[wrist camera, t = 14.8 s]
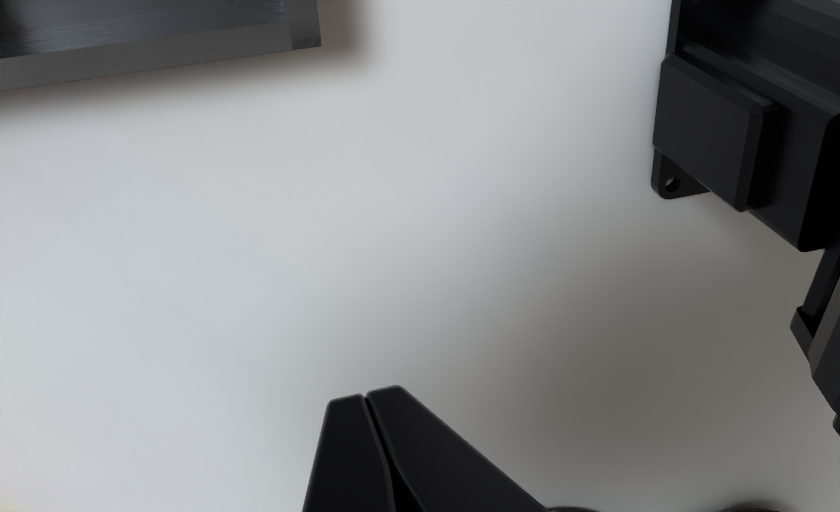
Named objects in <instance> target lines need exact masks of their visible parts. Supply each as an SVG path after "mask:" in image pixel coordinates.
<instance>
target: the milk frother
mask: <svg viewBox="0 0 840 512" xmlns="http://www.w3.org/2000/svg"><path fill="white" fill-rule="evenodd" d="M549 512H586V511H580V510H574V509H559V510H551V511H549ZM734 512H778V511H773V510H768V509H760V508H753V509H744V510H738V511H734Z"/></svg>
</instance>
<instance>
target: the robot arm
mask: <svg viewBox="0 0 840 512" xmlns="http://www.w3.org/2000/svg"><path fill="white" fill-rule="evenodd" d="M653 145H654V146H655V150H654V159H653V168H652V176H651V187H652V189H653V190H654V191H655V192H656V193H657V194H658V195H659V196H660V197H662V198H664V199H675V198H680V197H686V196H691V195H696V194H701V193H706V192H713V193H714V194H715V195H717V196H718V197H719V198H720V199H722V200H723V201H724V202H725V203H727V204H728V205H729V206H731V207H732V208H733V209H734V210H736V211H737V212H740V213H741V212H746V211H748V212H750V213H751V214H752V215H753V216H755V217H756V218H757V219H759V220H760V221H761V222H763V223H764V224H765V225H766V226H768V227H769V228H770V229H772V230H773V231H774V232H776V233H777V234H778V235H779V236H781V237H782V238H783V239H785V240H786V241H787V242H789V243H790V244H791V245H793V246H794V247H795V248H796V249H798V250H799V251H800V252H809V251H813V250H818V249H822V250H824V253H823V256H822V258H821V261H820V263H819V266H818V268H817V271H816V273H815V276H814V278H813V281H812V283H811V286H810V288H809V291H808V293H807V296H806V298H805V301H804V303H803V306H800V307H798V308H797V309H796V312H795V314H794V317H793V319H792V322H791V324H790V329H791V331H792V332H793V334H794V336H795V338H796V340H797V341H798V343H799V345H800V347H801V349H802V351H803V352H804V354H805V356H806V358H807V360H808V361H809V363H810V368H811V374H812V379H813V380H814V382H815V383H816V385H817V386H818V388H819V389H820V391H821V392H822V394H823V396H824V397H825V399H826V400H827V402H828V403H829V405H830V406H831V408H832V409H833V410H834V411H835V413H836V416H835V418H834V420H833V428H834V429H835V430H836V432H837V433H838V435H839V436H840V0H672V6H671V14H670V23H669V31H668V40H667V48H666V56H665V58H664V60H663V62H662V64H661V73H660V81H659V90H658V99H657V107H656V116H655V125H654V133H653ZM672 177H674V178H673V181H672V182H671V183H670V184H669V185H667V186H665V185H666V182H667V181H668V180H669V179H670V178H672ZM302 512H549V511H548V510H547V509H546V508H545V507H544V506H542V505H541V504H540V503H539V502H538V501H536V500H535V499H534V498H533V497H532V496H531V495H529V494H528V493H527V492H526V491H525V490H523V489H522V488H521V487H520V486H519V485H518V484H516V483H515V482H514V481H513V480H512V479H510V478H509V477H508V476H507V475H506V474H505V473H503V472H502V471H501V470H500V469H499V468H497V467H496V466H495V465H494V464H493V463H492V462H490V461H489V460H488V459H487V458H486V457H484V456H483V455H482V454H481V453H480V452H479V451H477V450H476V449H475V448H474V447H473V446H471V445H470V444H469V443H468V442H467V441H466V440H464V439H463V438H462V437H461V436H460V435H458V434H457V433H456V432H455V431H454V430H453V429H451V428H450V427H449V426H448V425H447V424H445V423H444V422H443V421H442V420H441V419H440V418H438V417H437V416H436V415H435V414H434V413H432V412H431V411H430V410H429V409H428V408H427V407H425V406H424V405H423V404H422V403H421V402H419V401H418V400H417V399H416V398H415V397H414V396H412V395H411V394H410V393H409V392H408V391H406V390H405V389H404V388H403V387H401V386H398V385H393V386H389V387H385V388H380V389H376V390H371V391H369V392H368V393H367V394H366V396H365V397H364V396H363V395H362V394H354V395H350V396H345V397H341V398H337V399H333V400H331V401H330V402H329V403H328V405H327V408H326V412H325V416H324V420H323V425H322V429H321V433H320V437H319V441H318V446H317V450H316V454H315V458H314V463H313V467H312V471H311V475H310V479H309V484H308V488H307V492H306V496H305V501H304V505H303V509H302Z"/></svg>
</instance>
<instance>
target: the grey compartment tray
mask: <svg viewBox="0 0 840 512" xmlns="http://www.w3.org/2000/svg"><path fill="white" fill-rule="evenodd" d="M318 46H322V45H321V37H320V29H319V21H318V13H317V5H316V0H0V91H3V90H10V89H17V88H25V87H32V86H39V85H46V84H53V83H60V82H68V81H75V80H82V79H89V78H96V77H103V76H111V75H118V74H125V73H132V72H139V71H146V70H154V69H161V68H168V67H175V66H182V65H189V64H197V63H204V62H211V61H218V60H225V59H232V58H240V57H247V56H254V55H261V54H268V53H275V52H283V51H290V50H297V49H304V48H311V47H318Z"/></svg>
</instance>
